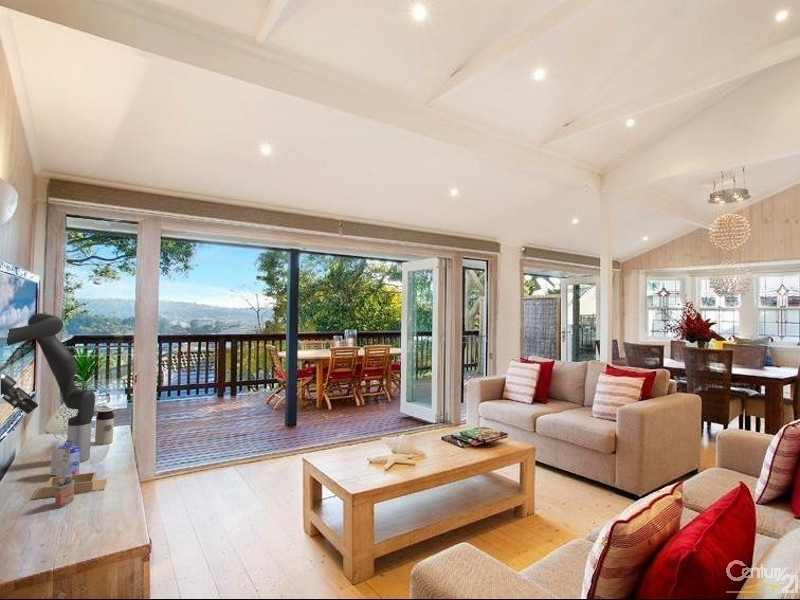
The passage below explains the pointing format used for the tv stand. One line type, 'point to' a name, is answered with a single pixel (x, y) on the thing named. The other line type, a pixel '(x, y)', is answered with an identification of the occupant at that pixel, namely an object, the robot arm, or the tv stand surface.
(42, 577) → the tv stand surface
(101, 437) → the travel mug
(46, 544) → the tv stand surface
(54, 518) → the tv stand surface
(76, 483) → the mailer box
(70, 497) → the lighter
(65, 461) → the ink cartridge box
